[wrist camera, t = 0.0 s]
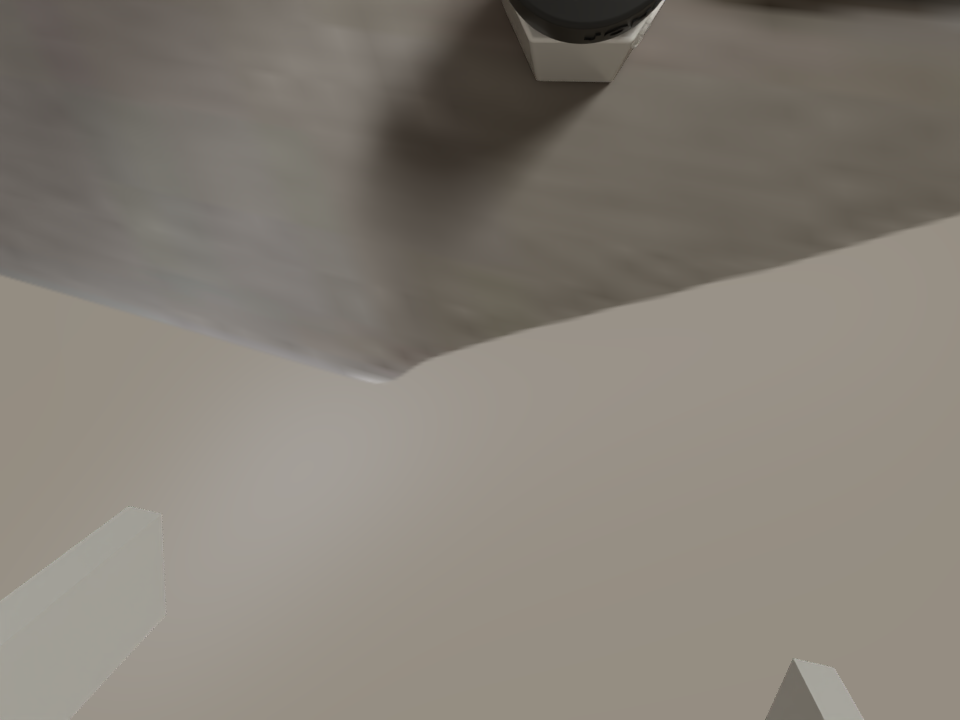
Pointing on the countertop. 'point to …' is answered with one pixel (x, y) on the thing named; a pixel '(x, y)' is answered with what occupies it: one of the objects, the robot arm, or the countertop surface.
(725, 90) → the countertop surface
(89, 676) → the robot arm
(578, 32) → the jar
